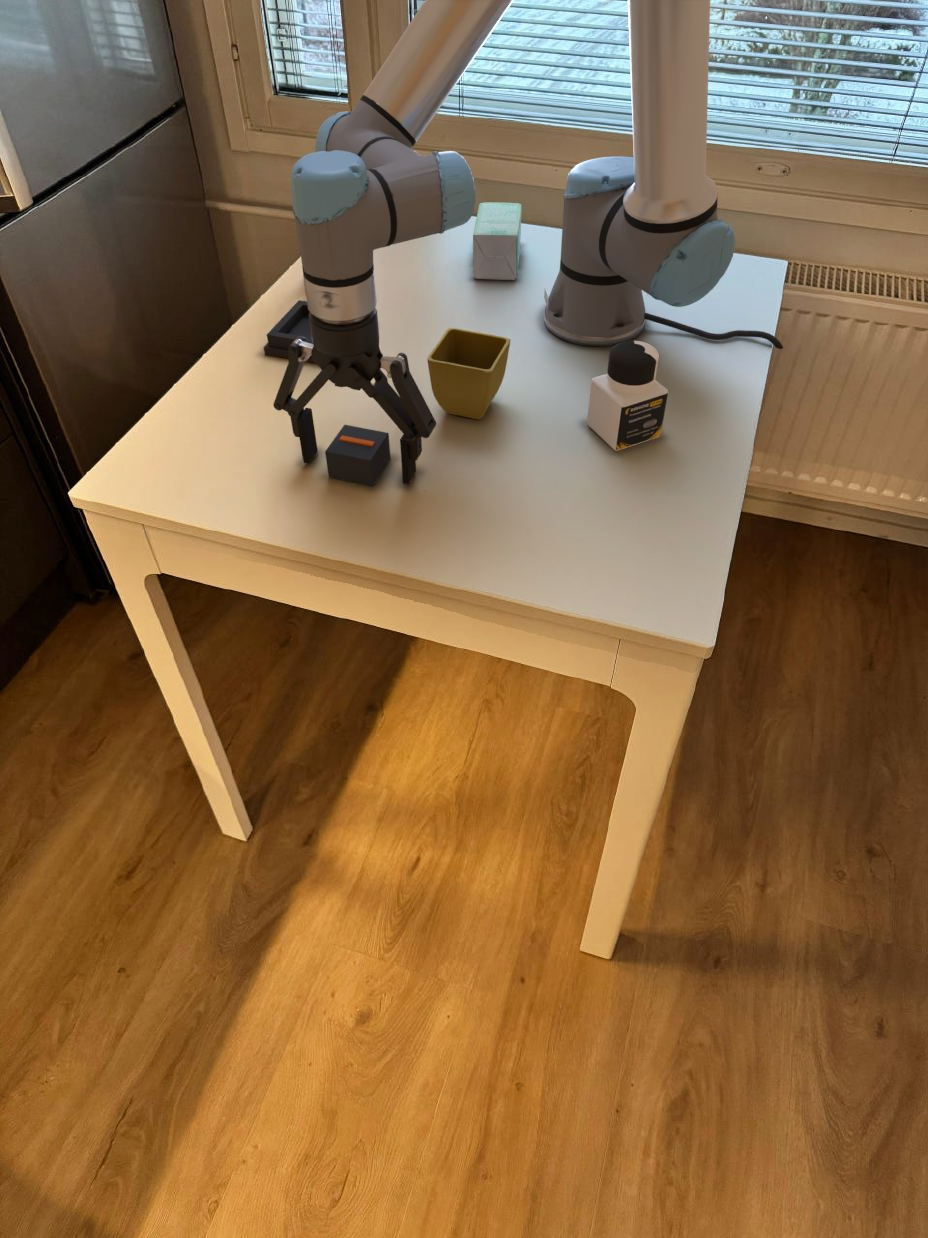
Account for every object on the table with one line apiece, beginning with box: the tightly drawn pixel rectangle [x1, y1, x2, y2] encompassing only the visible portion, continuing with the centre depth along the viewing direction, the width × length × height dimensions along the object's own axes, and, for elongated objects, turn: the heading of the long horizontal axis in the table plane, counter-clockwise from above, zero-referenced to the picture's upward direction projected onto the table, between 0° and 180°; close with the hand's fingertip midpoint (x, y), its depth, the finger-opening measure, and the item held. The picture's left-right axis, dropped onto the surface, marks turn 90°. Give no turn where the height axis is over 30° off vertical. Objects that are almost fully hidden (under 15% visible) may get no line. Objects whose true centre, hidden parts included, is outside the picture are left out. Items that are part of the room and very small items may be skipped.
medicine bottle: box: [586, 340, 669, 452], centre depth 116 cm, size 7×7×12 cm
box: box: [472, 201, 523, 281], centre depth 151 cm, size 7×14×8 cm, turn 175°
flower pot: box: [426, 327, 511, 420], centre depth 121 cm, size 9×9×9 cm
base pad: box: [263, 299, 316, 364], centre depth 136 cm, size 12×12×3 cm
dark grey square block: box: [324, 424, 391, 488], centre depth 114 cm, size 6×6×4 cm
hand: (359, 467), depth 115 cm, fingers open, 13 cm apart
